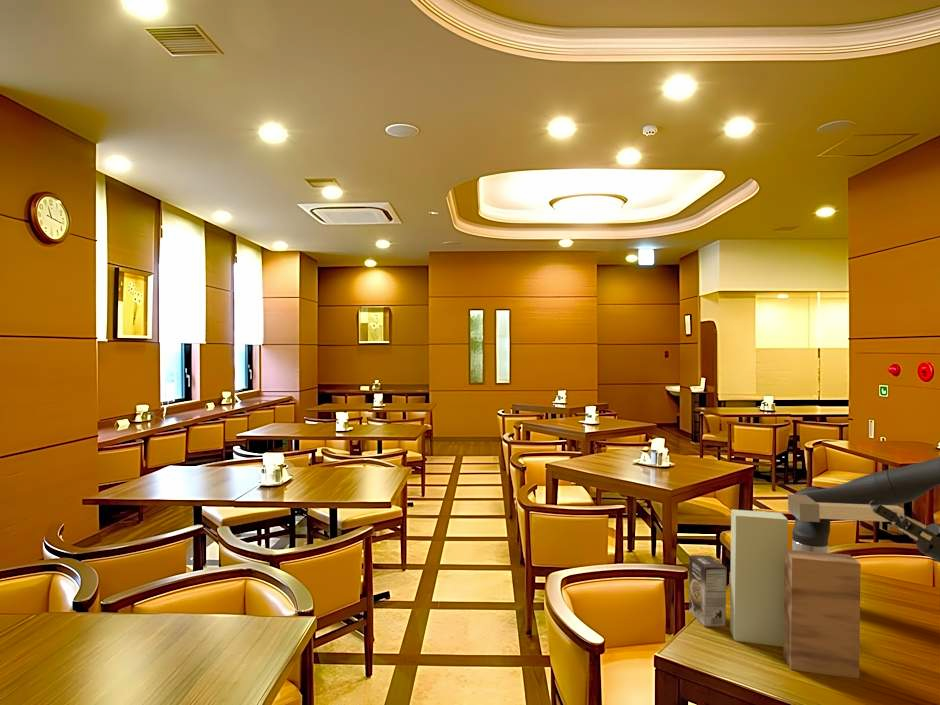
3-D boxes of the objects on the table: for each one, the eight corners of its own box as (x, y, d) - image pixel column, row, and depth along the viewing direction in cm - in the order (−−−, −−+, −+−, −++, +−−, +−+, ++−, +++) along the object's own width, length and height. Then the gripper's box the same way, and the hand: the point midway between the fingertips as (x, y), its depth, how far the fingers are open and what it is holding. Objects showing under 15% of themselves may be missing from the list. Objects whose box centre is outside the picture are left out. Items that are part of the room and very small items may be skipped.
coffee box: (687, 611, 161) (688, 554, 161) (709, 611, 162) (710, 554, 162) (703, 627, 152) (704, 567, 152) (726, 626, 153) (727, 566, 153)
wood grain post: (783, 656, 138) (784, 549, 138) (848, 664, 134) (849, 555, 134) (790, 669, 132) (792, 557, 132) (859, 678, 129) (860, 564, 129)
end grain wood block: (788, 510, 139) (787, 494, 139) (891, 515, 134) (891, 498, 134) (800, 521, 130) (799, 503, 130) (911, 526, 125) (910, 508, 125)
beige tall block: (729, 629, 151) (731, 509, 151) (779, 635, 148) (781, 513, 148) (734, 640, 145) (735, 515, 145) (786, 647, 142) (787, 519, 142)
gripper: (941, 525, 133) (868, 485, 137) (978, 545, 120) (897, 499, 123) (922, 551, 134) (851, 511, 138) (957, 574, 121) (877, 528, 124)
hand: (873, 506), depth 131 cm, fingers closed on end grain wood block, 3 cm apart
